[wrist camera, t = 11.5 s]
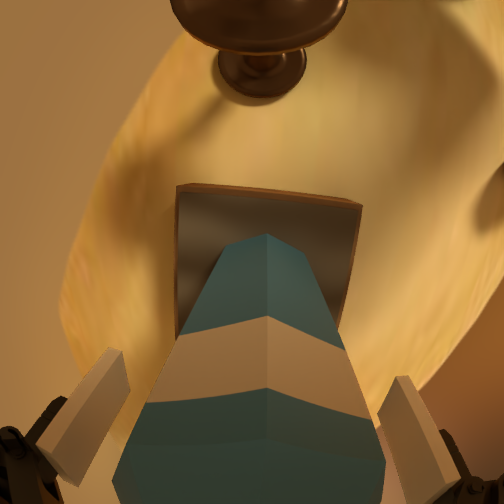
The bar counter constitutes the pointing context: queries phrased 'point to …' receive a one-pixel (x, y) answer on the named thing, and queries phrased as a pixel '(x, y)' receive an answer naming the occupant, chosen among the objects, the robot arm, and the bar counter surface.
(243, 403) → the water bottle
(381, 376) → the bar counter surface
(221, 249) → the stand
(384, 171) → the bar counter surface
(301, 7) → the candlestick
